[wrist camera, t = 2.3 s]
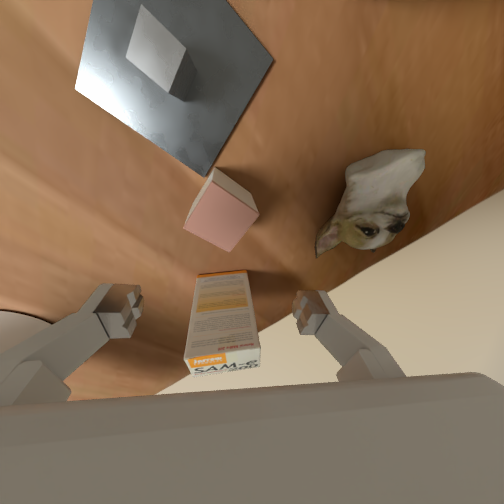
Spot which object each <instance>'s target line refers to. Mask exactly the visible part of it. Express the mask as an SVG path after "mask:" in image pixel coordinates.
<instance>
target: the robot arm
mask: <svg viewBox="0 0 504 504" xmlns="http://www.w3.org/2000/svg"><path fill="white" fill-rule="evenodd" d="M140 292H141V287H140V285H128V284H106V283H103V284H101V285H99V286H98V287H97V289H96V290H95V291H94V292H93V294H92V295H91V296H90V297H89V299H88V300H87V301H86V302H85V304H84V305H83V306H82V307H81V309H80V310H79V311H78V312H77V313H72V314H70V315H69V316H67V317H65V318H63V319H62V320H60V321H58V322H56V323H54V324H53V325H51V324H49V323H47V322H45V321H42V320H40V319H37V318H34V317H31V316H27V315H23V314H18V313H13V312H6V311H0V504H504V386H503V385H501V384H499V383H498V382H496V381H494V380H493V379H491V378H489V377H487V376H486V375H483V374H480V373H476V372H467V373H453V374H439V375H425V376H411V377H406V375H405V374H404V373H403V371H402V370H401V368H400V367H399V365H398V364H397V363H396V361H395V360H394V358H393V357H392V356H391V354H390V353H389V351H388V350H387V349H386V347H384V346H383V345H382V344H380V343H379V342H378V341H376V340H375V339H374V338H372V337H371V336H370V335H368V334H367V333H366V332H365V331H363V330H362V329H360V328H359V327H358V326H356V325H355V324H354V323H353V322H351V321H350V320H349V319H347V318H346V317H345V316H343V315H340V314H339V313H338V311H337V310H336V308H335V306H334V304H333V303H332V301H331V299H330V298H329V296H328V294H327V293H326V292H325V291H322V290H299V291H297V294H296V296H297V298H296V299H294V300H293V303H292V313H293V316H294V317H295V318H296V319H297V323H296V324H297V327H298V330H299V333H300V335H315V337H316V338H317V339H318V340H319V341H320V342H321V343H322V345H324V347H325V348H326V349H327V350H328V351H329V352H330V353H331V354H332V355H333V357H334V358H335V359H336V360H337V361H338V362H339V363H340V365H342V368H341V369H340V370H339V371H338V372H337V375H336V376H337V378H338V380H339V382H328V383H314V384H301V385H286V386H272V387H258V388H244V389H230V390H216V391H202V392H188V393H175V394H161V395H147V396H133V397H119V398H105V399H91V400H78V401H67V399H68V397H69V396H70V394H71V389H70V388H69V387H68V386H67V385H66V384H65V383H64V382H63V380H65V379H66V378H67V377H68V376H69V375H70V374H71V373H72V372H74V371H75V370H76V369H77V368H78V367H79V366H80V365H81V364H83V363H84V362H85V361H86V360H87V359H88V358H89V357H91V356H92V355H93V354H94V353H95V352H96V351H97V350H98V349H100V348H101V347H102V346H103V345H104V344H105V343H106V342H107V341H109V339H113V338H131V336H132V333H133V331H134V329H135V327H136V325H137V324H136V321H135V320H136V319H137V318H139V317H140V316H141V314H142V311H143V307H144V298H143V296H141V295H140Z"/></svg>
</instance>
